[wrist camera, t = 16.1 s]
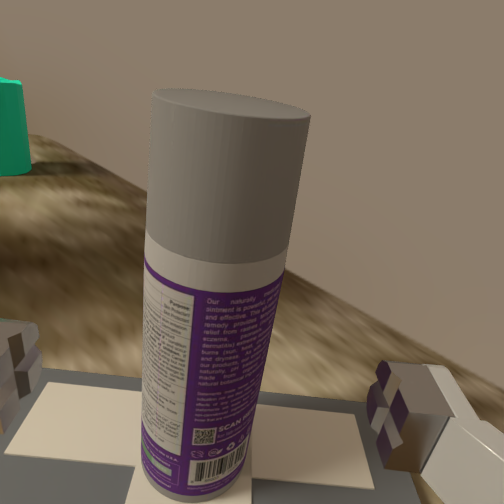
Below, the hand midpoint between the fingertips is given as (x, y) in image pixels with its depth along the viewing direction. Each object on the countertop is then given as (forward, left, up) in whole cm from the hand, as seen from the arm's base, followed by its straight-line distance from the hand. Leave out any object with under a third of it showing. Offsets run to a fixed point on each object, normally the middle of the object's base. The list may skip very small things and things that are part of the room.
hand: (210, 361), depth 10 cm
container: (0, +5, -10) cm, 11 cm away
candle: (-29, +42, -11) cm, 52 cm away
